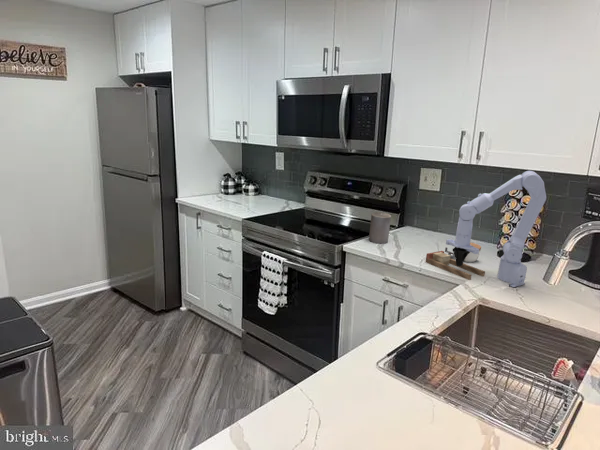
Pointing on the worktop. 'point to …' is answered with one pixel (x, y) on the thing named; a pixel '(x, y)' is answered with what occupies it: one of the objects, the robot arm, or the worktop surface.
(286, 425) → the worktop surface
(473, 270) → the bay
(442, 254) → the tan wooden block
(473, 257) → the lidded jar
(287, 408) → the worktop surface
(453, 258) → the winch
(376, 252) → the worktop surface
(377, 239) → the pillar candle
